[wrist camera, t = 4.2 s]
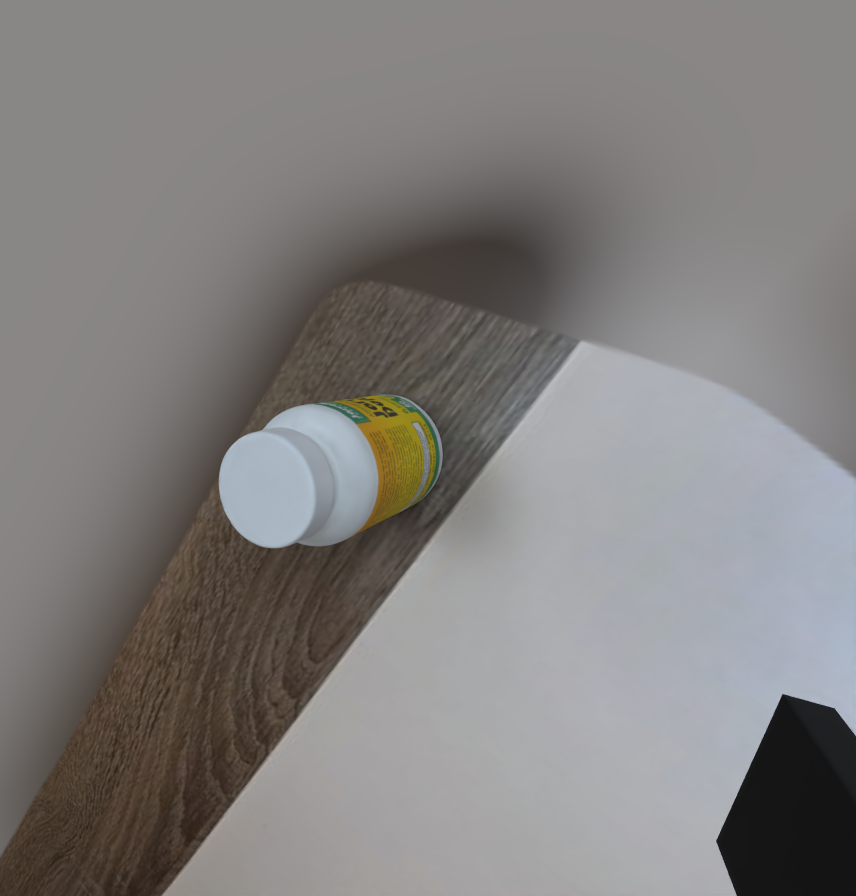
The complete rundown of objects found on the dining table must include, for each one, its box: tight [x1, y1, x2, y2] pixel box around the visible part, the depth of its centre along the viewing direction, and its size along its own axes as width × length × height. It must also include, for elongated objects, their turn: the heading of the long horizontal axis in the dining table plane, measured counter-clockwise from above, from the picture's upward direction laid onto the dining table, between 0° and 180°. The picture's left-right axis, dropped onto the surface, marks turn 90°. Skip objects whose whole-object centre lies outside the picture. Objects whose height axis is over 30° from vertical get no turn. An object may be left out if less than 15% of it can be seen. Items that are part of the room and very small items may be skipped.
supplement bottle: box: [219, 395, 443, 548], centre depth 27 cm, size 5×5×10 cm
